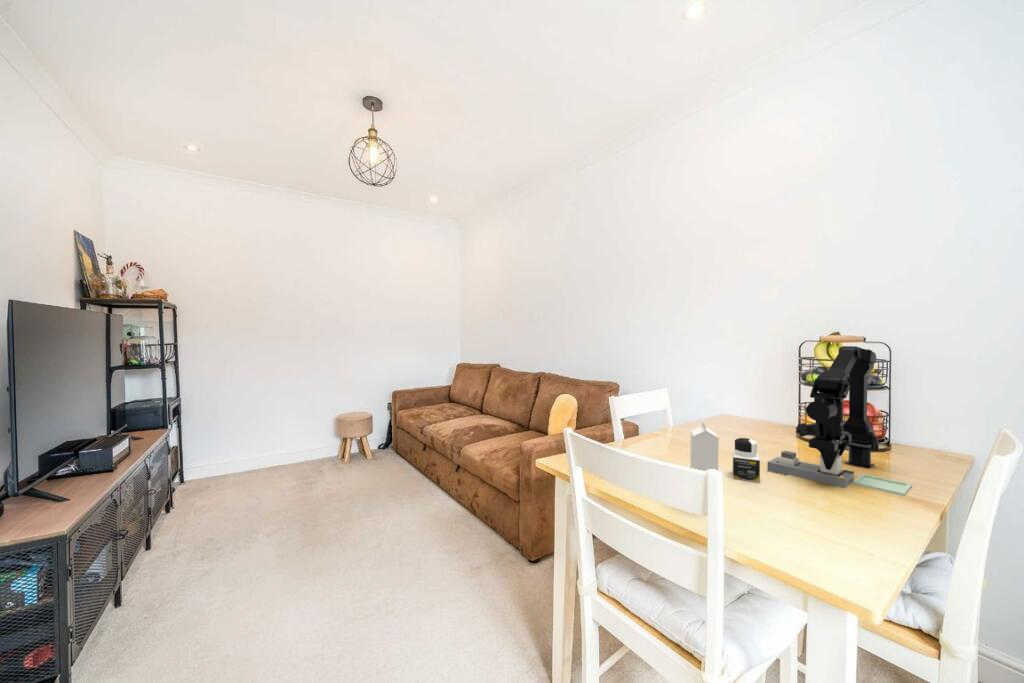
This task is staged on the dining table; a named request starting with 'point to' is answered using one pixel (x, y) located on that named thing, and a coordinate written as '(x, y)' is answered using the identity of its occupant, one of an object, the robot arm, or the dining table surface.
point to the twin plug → (788, 458)
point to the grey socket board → (812, 473)
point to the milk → (704, 448)
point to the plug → (835, 468)
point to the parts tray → (882, 484)
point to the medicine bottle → (746, 460)
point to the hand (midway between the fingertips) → (830, 467)
